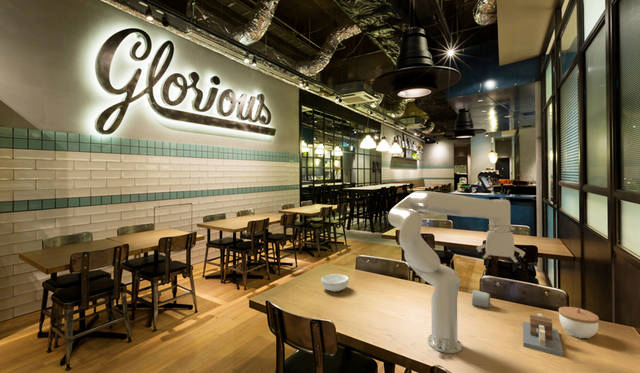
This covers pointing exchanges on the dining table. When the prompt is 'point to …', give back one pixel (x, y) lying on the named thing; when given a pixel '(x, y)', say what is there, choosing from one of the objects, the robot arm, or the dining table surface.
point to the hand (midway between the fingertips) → (499, 269)
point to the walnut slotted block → (545, 322)
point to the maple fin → (541, 333)
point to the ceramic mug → (481, 299)
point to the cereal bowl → (334, 282)
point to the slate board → (533, 342)
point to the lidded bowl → (578, 322)
